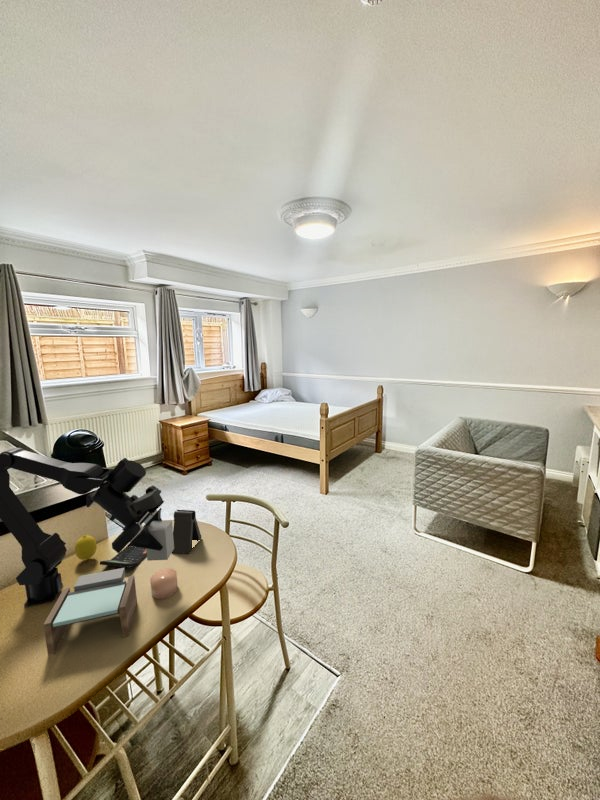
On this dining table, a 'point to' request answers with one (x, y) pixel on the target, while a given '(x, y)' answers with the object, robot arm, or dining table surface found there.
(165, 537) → the gray rectangular block
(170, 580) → the pink rounded block
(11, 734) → the dining table surface
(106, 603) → the trapdoor
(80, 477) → the robot arm
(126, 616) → the frame
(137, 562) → the calculator
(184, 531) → the dark folding easel stand
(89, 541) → the lemon
